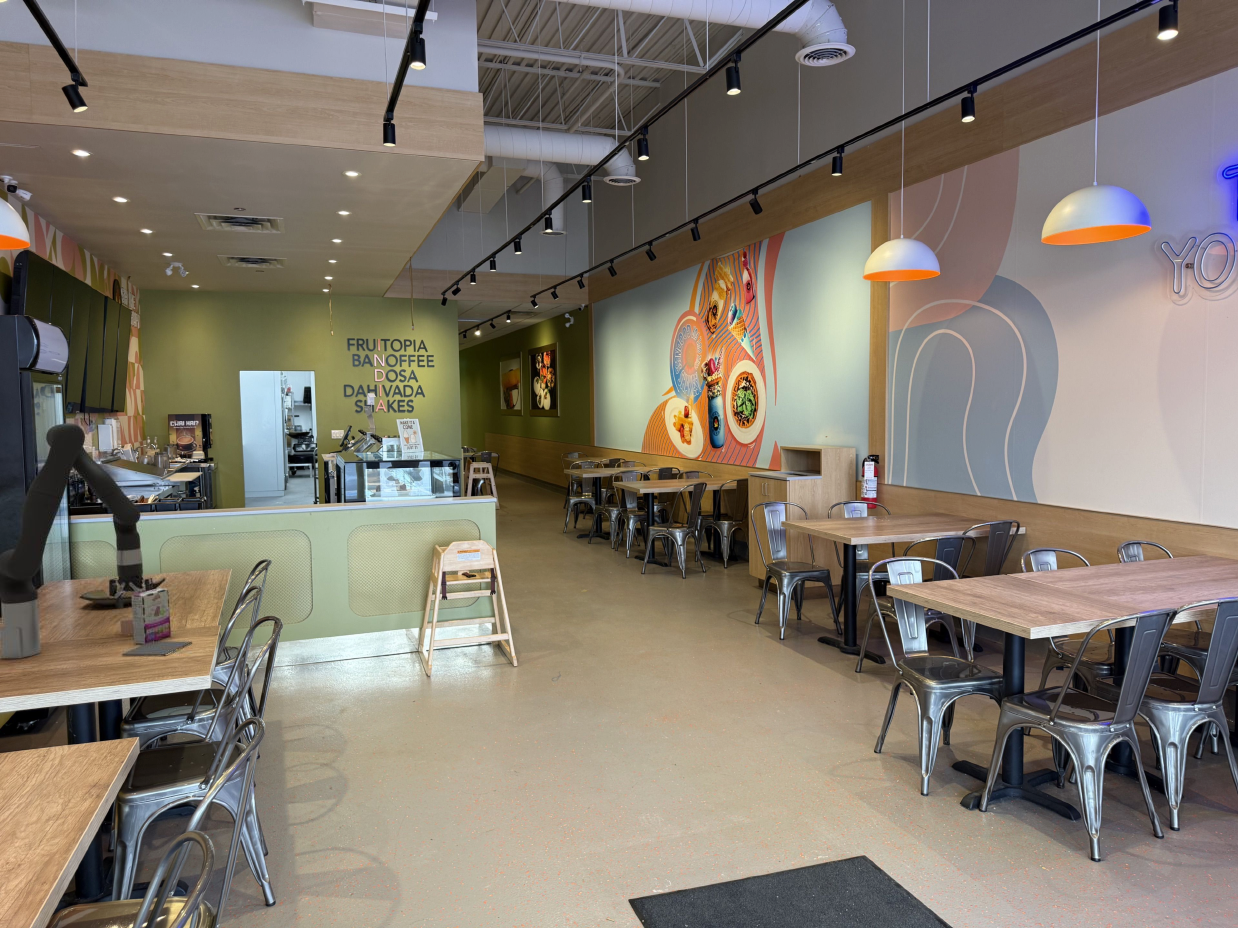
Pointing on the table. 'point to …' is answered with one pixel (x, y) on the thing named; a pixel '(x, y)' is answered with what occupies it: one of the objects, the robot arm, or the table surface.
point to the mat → (156, 648)
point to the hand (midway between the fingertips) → (132, 608)
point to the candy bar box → (151, 615)
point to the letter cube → (127, 626)
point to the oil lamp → (104, 599)
